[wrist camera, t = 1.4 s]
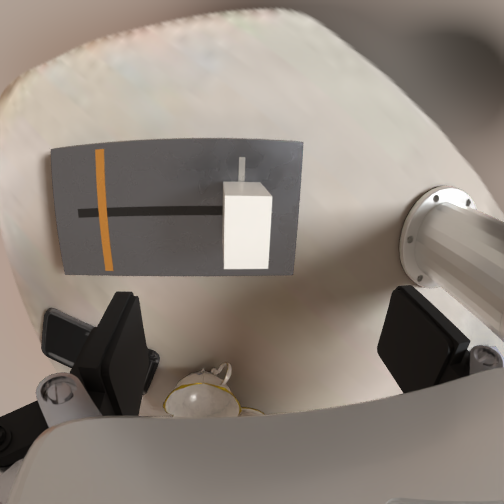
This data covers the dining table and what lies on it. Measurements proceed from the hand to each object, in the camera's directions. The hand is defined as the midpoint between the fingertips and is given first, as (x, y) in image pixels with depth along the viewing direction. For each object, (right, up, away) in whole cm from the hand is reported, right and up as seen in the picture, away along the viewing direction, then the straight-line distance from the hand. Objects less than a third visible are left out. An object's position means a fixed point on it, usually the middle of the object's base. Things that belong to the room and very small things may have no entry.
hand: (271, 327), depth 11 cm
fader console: (-8, +7, +18) cm, 21 cm away
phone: (-20, -9, +24) cm, 32 cm away
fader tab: (-2, +6, +15) cm, 17 cm away
